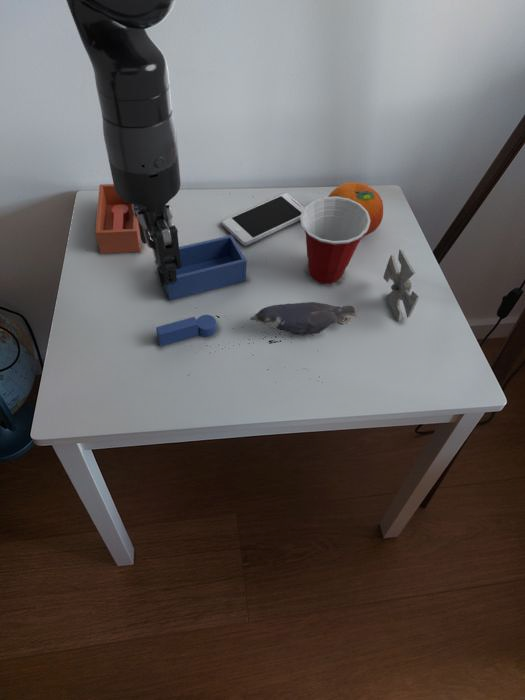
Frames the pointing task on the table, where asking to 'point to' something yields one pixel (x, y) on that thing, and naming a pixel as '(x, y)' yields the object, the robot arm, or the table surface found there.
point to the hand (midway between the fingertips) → (158, 261)
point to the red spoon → (120, 216)
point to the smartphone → (264, 219)
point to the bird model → (304, 317)
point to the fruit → (363, 201)
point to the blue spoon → (186, 329)
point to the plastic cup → (332, 235)
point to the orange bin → (104, 224)
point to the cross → (400, 285)
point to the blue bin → (208, 267)
